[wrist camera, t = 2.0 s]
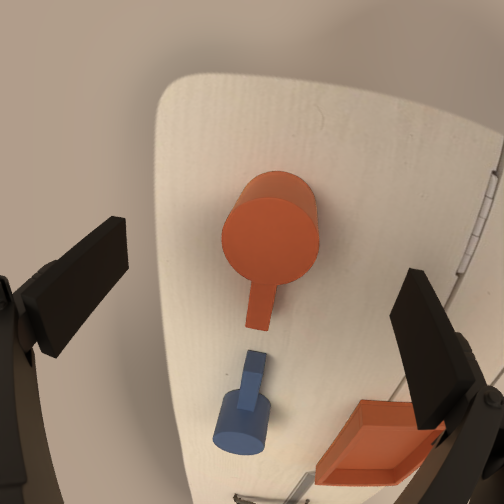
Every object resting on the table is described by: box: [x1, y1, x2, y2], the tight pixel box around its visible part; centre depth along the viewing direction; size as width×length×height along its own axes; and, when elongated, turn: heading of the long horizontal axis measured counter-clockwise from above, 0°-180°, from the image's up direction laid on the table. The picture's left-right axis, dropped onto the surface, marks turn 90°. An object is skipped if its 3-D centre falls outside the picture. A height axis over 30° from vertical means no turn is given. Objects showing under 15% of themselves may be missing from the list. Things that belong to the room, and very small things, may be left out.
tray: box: [315, 400, 446, 486], centre depth 30 cm, size 17×12×3 cm
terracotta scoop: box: [221, 171, 319, 331], centre depth 19 cm, size 10×5×5 cm, turn 173°
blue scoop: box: [213, 350, 271, 455], centre depth 27 cm, size 10×5×5 cm, turn 173°
